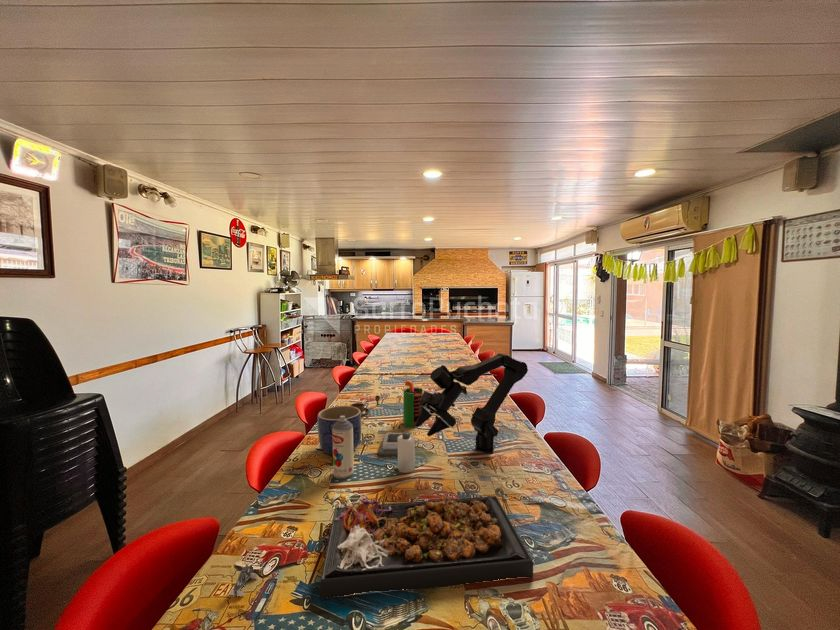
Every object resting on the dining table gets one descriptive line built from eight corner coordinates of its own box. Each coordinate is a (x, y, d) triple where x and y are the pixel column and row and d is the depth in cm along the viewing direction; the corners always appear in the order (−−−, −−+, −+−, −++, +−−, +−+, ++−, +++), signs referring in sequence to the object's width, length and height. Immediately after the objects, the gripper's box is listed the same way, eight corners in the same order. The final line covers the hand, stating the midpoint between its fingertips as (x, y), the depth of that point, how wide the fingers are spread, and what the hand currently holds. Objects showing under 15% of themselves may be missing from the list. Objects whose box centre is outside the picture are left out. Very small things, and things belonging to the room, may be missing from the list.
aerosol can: (329, 475, 121) (327, 417, 119) (344, 466, 126) (343, 411, 125) (343, 481, 117) (341, 421, 115) (358, 472, 122) (356, 415, 121)
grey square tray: (414, 441, 147) (414, 431, 147) (413, 455, 134) (413, 445, 134) (383, 440, 148) (383, 431, 147) (379, 455, 135) (378, 445, 134)
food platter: (320, 602, 72) (318, 553, 72) (335, 523, 97) (334, 486, 96) (532, 580, 77) (533, 535, 77) (496, 510, 102) (496, 475, 101)
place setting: (342, 410, 187) (342, 399, 187) (379, 405, 195) (379, 394, 194) (349, 421, 171) (349, 409, 171) (389, 415, 179) (389, 404, 178)
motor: (420, 428, 161) (419, 384, 159) (400, 427, 162) (400, 383, 161) (424, 420, 171) (424, 379, 169) (406, 419, 172) (405, 378, 171)
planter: (316, 461, 130) (315, 421, 129) (320, 442, 147) (318, 407, 146) (362, 456, 134) (362, 418, 133) (360, 438, 150) (360, 404, 149)
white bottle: (417, 465, 127) (417, 431, 126) (411, 474, 121) (411, 437, 120) (401, 463, 129) (401, 429, 128) (395, 471, 123) (394, 435, 122)
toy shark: (249, 605, 72) (248, 583, 71) (219, 601, 73) (217, 580, 72) (287, 551, 87) (286, 533, 86) (261, 548, 87) (261, 530, 87)
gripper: (423, 377, 136) (396, 409, 132) (448, 389, 120) (418, 427, 115) (441, 394, 140) (415, 427, 136) (467, 408, 124) (440, 446, 120)
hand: (421, 431), depth 127 cm, fingers open, 9 cm apart
